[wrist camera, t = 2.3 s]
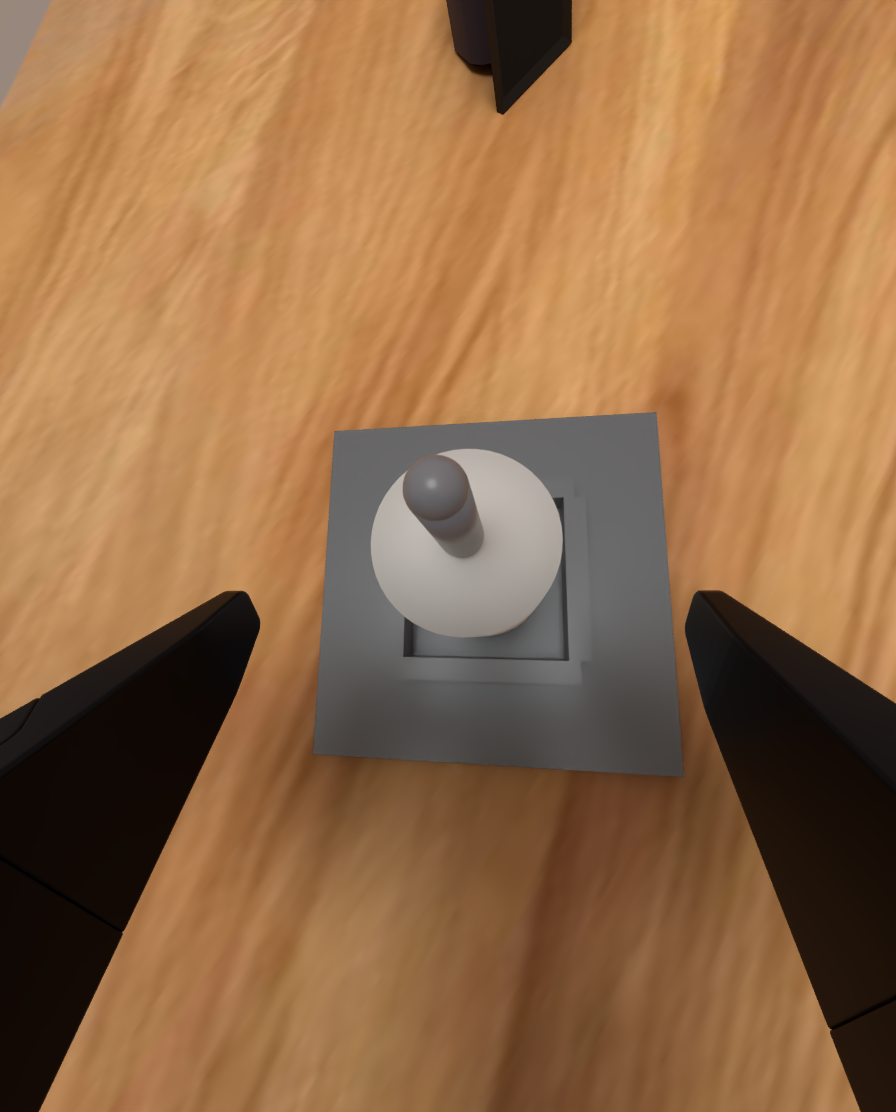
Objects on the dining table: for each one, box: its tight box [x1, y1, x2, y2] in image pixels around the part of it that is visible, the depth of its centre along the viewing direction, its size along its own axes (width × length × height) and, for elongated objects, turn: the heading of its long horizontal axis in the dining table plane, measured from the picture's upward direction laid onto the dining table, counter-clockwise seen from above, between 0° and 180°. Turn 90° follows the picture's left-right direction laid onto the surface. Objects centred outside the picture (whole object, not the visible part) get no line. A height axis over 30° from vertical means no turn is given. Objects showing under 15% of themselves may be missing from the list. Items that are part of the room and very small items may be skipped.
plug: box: [371, 449, 563, 638], centre depth 12 cm, size 4×4×12 cm
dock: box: [313, 412, 684, 777], centre depth 17 cm, size 14×14×2 cm
